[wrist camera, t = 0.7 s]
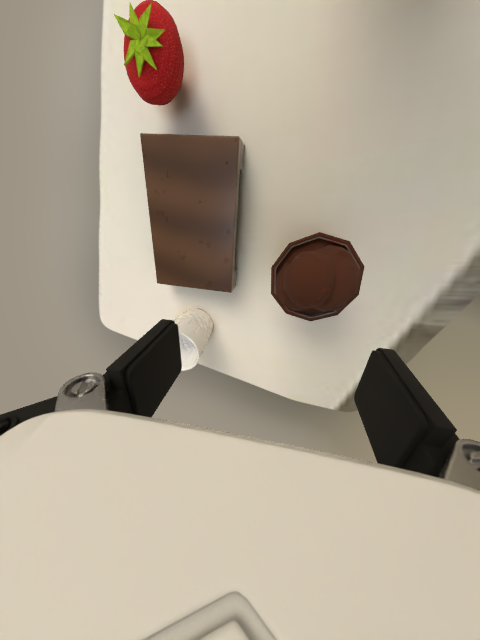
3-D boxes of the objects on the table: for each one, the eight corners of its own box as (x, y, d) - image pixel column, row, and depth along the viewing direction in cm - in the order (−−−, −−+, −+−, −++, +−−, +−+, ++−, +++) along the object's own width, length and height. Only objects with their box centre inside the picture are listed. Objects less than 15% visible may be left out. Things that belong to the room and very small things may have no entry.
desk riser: (156, 142, 31) (139, 133, 28) (244, 145, 29) (239, 136, 26) (168, 277, 40) (157, 283, 37) (236, 285, 39) (231, 292, 35)
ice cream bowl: (273, 296, 38) (268, 341, 25) (275, 228, 33) (269, 239, 20) (337, 297, 36) (367, 346, 23) (348, 225, 31) (395, 235, 18)
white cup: (193, 345, 46) (172, 376, 38) (171, 315, 44) (143, 341, 35) (223, 331, 43) (208, 362, 35) (201, 299, 41) (179, 322, 32)
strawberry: (149, 109, 30) (92, 66, 21) (162, 31, 26) (100, -61, 17) (188, 130, 30) (147, 96, 21) (206, 56, 26) (167, -23, 17)
